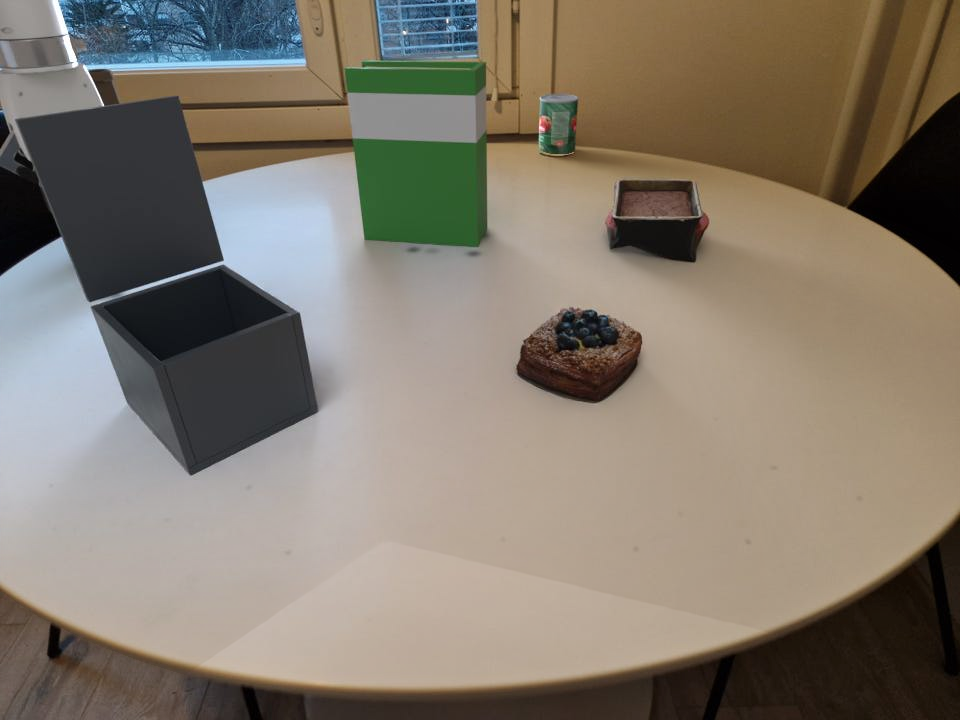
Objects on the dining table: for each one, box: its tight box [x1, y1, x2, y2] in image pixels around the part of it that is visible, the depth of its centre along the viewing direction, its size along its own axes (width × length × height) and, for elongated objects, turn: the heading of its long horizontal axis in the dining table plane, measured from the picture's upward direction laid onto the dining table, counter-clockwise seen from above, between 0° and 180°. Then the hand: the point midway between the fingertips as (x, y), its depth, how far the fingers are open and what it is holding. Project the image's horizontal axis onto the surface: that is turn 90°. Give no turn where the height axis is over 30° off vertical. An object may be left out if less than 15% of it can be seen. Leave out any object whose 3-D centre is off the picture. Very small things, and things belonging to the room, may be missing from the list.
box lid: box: [15, 95, 225, 303], centre depth 59 cm, size 15×13×6 cm
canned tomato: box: [538, 93, 579, 154], centre depth 136 cm, size 8×8×11 cm
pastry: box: [515, 306, 643, 404], centre depth 66 cm, size 11×12×6 cm
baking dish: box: [604, 177, 710, 263], centre depth 94 cm, size 14×18×10 cm
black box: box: [90, 263, 319, 476], centre depth 60 cm, size 15×13×11 cm
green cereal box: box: [343, 59, 488, 248], centre depth 94 cm, size 18×7×24 cm, turn 79°
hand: (90, 208), depth 82 cm, fingers closed on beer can, 6 cm apart
